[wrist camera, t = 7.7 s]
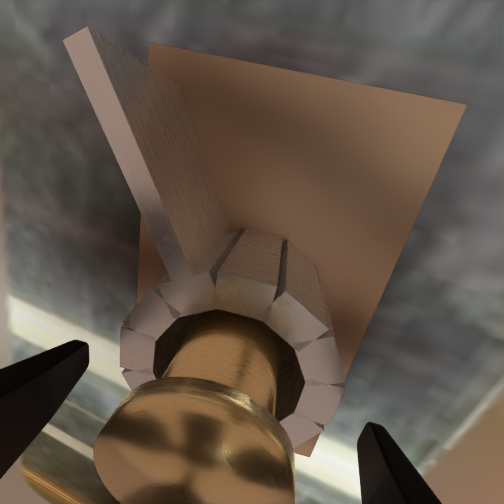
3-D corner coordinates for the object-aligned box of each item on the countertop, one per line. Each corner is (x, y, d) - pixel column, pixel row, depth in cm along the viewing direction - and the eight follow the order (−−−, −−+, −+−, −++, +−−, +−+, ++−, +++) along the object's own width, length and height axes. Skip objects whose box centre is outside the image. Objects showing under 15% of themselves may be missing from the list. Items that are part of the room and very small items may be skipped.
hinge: (274, 445, 16) (267, 558, 12) (142, 407, 17) (86, 500, 12) (388, 129, 10) (476, 102, 5) (164, 83, 10) (61, 21, 6)
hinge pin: (283, 345, 14) (270, 565, 6) (200, 325, 14) (98, 511, 7) (304, 268, 12) (320, 448, 5) (209, 247, 12) (87, 384, 5)
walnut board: (308, 441, 17) (309, 457, 16) (139, 392, 18) (131, 404, 17) (450, 110, 10) (466, 105, 9) (161, 52, 11) (149, 42, 10)
